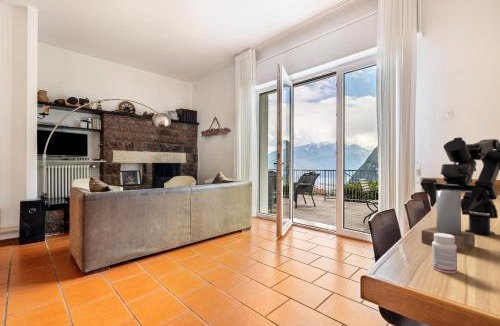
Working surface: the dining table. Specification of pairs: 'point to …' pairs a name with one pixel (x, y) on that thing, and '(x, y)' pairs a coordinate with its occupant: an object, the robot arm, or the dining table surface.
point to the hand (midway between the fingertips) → (448, 208)
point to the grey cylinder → (448, 212)
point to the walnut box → (461, 241)
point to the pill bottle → (444, 253)
